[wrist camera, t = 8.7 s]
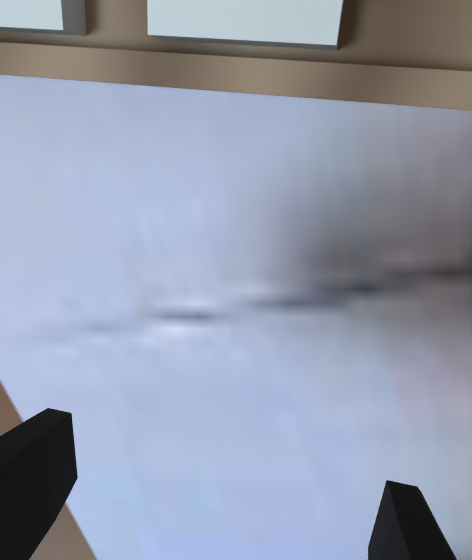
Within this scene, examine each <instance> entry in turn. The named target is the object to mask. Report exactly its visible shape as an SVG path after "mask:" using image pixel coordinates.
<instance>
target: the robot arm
mask: <svg viewBox="0 0 472 560" xmlns="http://www.w3.org/2000/svg"><path fill="white" fill-rule="evenodd" d="M77 478H78V477H77V467H76V456H75V446H74V435H73V425H72V414H71V413H69V412H64V411H59V410H55V409H50V408H47V409H46V410H44V411H42V412H40V413H38V414H37V415H35V416H33V417H32V418H30V419H28V420H26V421H25V422H23V423H21V424H20V425H18V426H16V427H15V428H13V429H11V430H10V431H8V432H6V433H5V434H3V435H2V436H0V560H29V559H30V557H31V556H32V554H33V553H34V551H35V550H36V548H37V547H38V545H39V544H40V542H41V540H42V539H43V538H44V536H45V535H46V534H47V532H48V530H49V529H50V527H51V526H52V524H53V523H54V521H55V520H56V518H57V516H58V514H59V512H60V510H61V508H62V507H63V505H64V503H65V501H66V499H67V498H68V496H69V494H70V492H71V490H72V488H73V486H74V484H75V482H76V480H77ZM368 560H457V559H456V557H455V555H454V554H453V552H452V550H451V548H450V546H449V544H448V543H447V541H446V539H445V537H444V535H443V533H442V531H441V530H440V528H439V526H438V524H437V522H436V520H435V518H434V516H433V514H432V512H431V510H430V508H429V506H428V504H427V502H426V500H425V498H424V496H423V494H422V492H421V491H420V490H419V488H418V487H416V486H412V485H407V484H402V483H398V482H393V481H388V480H387V481H386V484H385V488H384V492H383V495H382V499H381V503H380V506H379V510H378V514H377V517H376V521H375V524H374V528H373V532H372V535H371V539H370V543H369V546H368Z"/></svg>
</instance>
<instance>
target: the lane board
mask: <svg viewBox="0 0 472 560" xmlns="http://www.w3.org/2000/svg"><path fill="white" fill-rule="evenodd" d="M85 18H86V36H76V35H58V34H41V33H23V32H6V31H0V74H1V75H14V76H28V77H41V78H54V79H67V80H80V81H93V82H106V83H120V84H133V85H146V86H159V87H172V88H185V89H199V90H212V91H225V92H238V93H251V94H264V95H278V96H291V97H304V98H317V99H330V100H343V101H356V102H370V103H383V104H396V105H409V106H422V107H435V108H449V109H462V110H472V0H344V2H343V9H342V16H341V23H340V30H339V37H338V44H337V50H321V49H303V48H286V47H268V46H251V45H233V44H216V43H198V42H181V41H164V40H161V39H158V38H156V37H153V36H150V35H148V14H147V0H85Z"/></svg>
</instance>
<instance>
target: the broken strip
mask: <svg viewBox="0 0 472 560" xmlns="http://www.w3.org/2000/svg"><path fill="white" fill-rule="evenodd" d="M343 2H344V0H147V14H148V35H150V36H153V37H156V38H158V39H161V40H164V41H181V42H198V43H216V44H233V45H251V46H268V47H286V48H303V49H321V50H337V44H338V37H339V30H340V23H341V16H342V9H343ZM0 31H6V32H23V33H41V34H58V35H76V36H86V18H85V0H0Z"/></svg>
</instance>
